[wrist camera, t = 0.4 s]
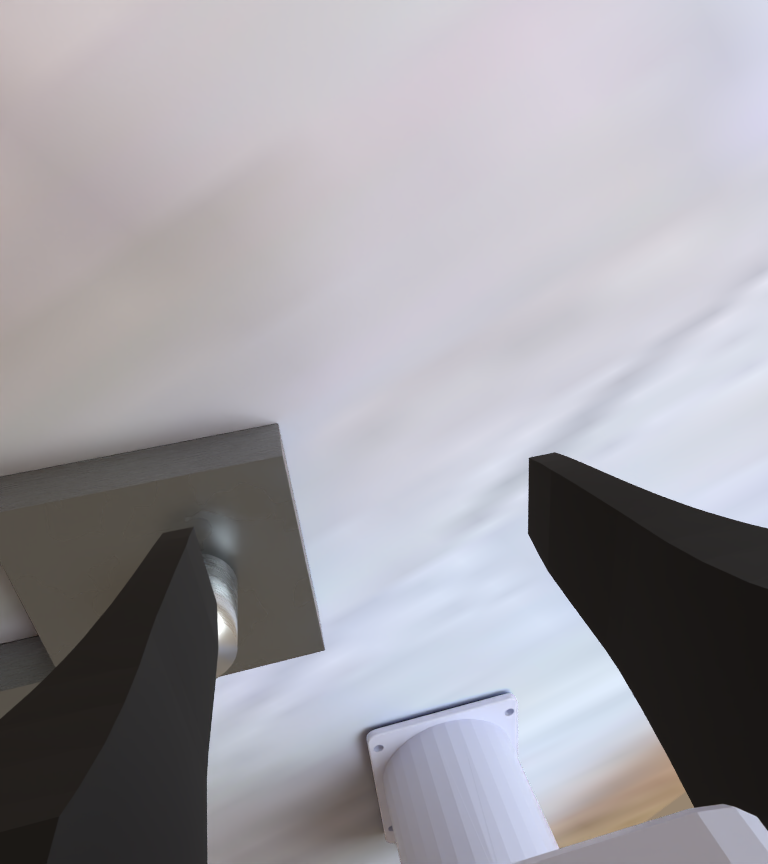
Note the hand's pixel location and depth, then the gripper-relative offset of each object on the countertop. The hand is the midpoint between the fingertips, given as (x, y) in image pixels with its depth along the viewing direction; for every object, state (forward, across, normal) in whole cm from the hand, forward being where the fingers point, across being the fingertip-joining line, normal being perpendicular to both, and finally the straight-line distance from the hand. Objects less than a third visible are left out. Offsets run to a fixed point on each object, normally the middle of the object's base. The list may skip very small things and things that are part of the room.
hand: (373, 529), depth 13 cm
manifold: (+10, +10, +6) cm, 15 cm away
